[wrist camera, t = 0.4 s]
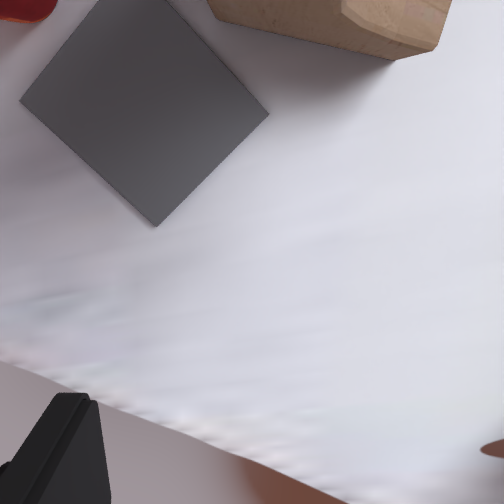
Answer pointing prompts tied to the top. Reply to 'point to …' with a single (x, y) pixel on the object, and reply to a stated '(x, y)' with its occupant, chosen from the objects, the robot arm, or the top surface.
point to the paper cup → (26, 10)
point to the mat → (143, 103)
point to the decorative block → (346, 22)
